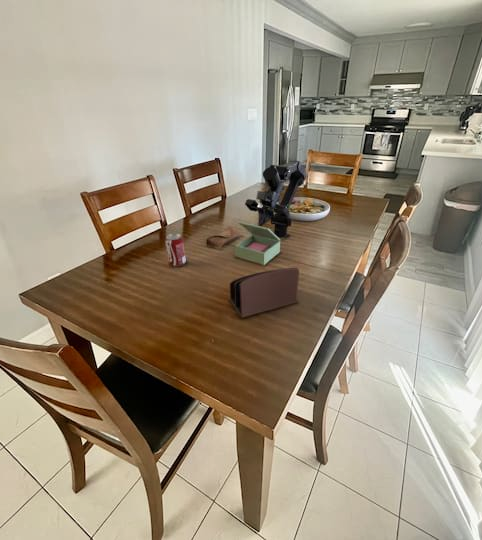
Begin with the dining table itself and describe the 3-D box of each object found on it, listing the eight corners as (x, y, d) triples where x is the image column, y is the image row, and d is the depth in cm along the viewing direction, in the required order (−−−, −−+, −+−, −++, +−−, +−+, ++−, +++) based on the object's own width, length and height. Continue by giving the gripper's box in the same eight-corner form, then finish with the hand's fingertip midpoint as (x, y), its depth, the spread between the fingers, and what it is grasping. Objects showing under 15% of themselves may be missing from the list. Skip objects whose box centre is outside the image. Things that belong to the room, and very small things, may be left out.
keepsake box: (263, 266, 117) (264, 253, 114) (235, 257, 124) (235, 245, 121) (279, 253, 127) (280, 241, 124) (252, 245, 133) (252, 234, 131)
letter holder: (297, 302, 97) (300, 265, 89) (241, 319, 90) (240, 280, 83) (282, 287, 104) (284, 252, 97) (230, 301, 98) (228, 264, 90)
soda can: (189, 260, 122) (185, 234, 116) (180, 268, 116) (176, 241, 110) (174, 258, 124) (170, 232, 118) (166, 266, 118) (161, 238, 112)
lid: (267, 229, 111) (268, 228, 112) (237, 222, 118) (238, 221, 118) (280, 241, 124) (280, 239, 124) (252, 234, 130) (252, 232, 130)
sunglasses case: (220, 249, 130) (213, 235, 128) (210, 253, 134) (204, 239, 133) (243, 235, 142) (237, 222, 141) (233, 239, 147) (227, 227, 146)
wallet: (254, 246, 131) (254, 241, 130) (273, 252, 126) (274, 246, 125) (245, 252, 126) (245, 247, 125) (265, 258, 121) (265, 253, 120)
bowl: (336, 210, 173) (338, 197, 169) (317, 227, 151) (319, 212, 147) (289, 202, 187) (290, 190, 183) (266, 216, 165) (267, 203, 161)
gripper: (246, 179, 119) (232, 213, 117) (288, 185, 110) (273, 222, 108) (256, 193, 129) (243, 225, 127) (295, 200, 120) (282, 234, 118)
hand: (259, 226), depth 120 cm, fingers closed
